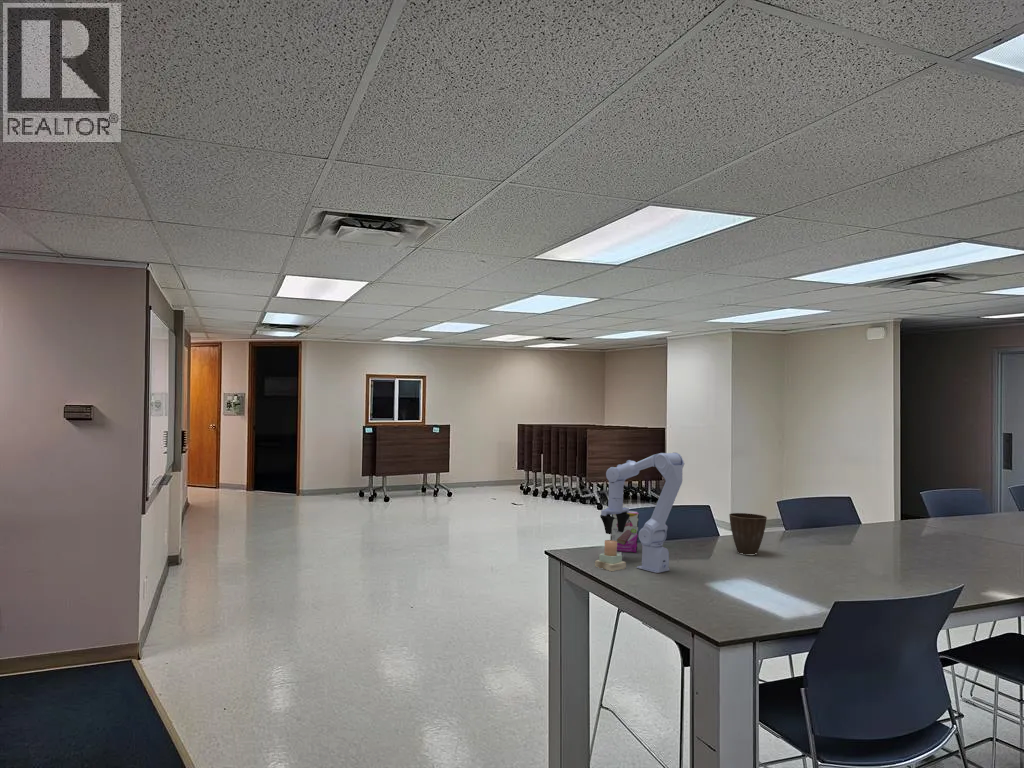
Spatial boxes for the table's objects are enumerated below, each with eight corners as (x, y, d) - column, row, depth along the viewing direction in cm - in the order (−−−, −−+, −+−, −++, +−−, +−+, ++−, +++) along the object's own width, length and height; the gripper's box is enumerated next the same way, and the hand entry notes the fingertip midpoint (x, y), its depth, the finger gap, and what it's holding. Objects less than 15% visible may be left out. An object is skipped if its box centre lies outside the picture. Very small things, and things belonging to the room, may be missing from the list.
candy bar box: (610, 551, 279) (611, 511, 280) (609, 549, 284) (611, 509, 285) (637, 553, 278) (639, 513, 279) (636, 550, 283) (637, 511, 284)
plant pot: (721, 552, 286) (722, 514, 286) (739, 548, 296) (740, 511, 296) (754, 559, 275) (755, 519, 275) (772, 554, 285) (773, 516, 285)
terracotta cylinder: (619, 555, 250) (619, 541, 250) (609, 556, 247) (610, 542, 247) (611, 552, 254) (611, 539, 254) (601, 553, 251) (602, 540, 251)
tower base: (625, 570, 250) (625, 562, 250) (611, 573, 245) (611, 564, 245) (608, 565, 256) (609, 557, 256) (594, 568, 251) (595, 560, 251)
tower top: (621, 561, 251) (622, 555, 251) (612, 564, 246) (612, 557, 246) (608, 558, 255) (608, 552, 255) (599, 561, 250) (599, 554, 251)
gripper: (619, 495, 273) (618, 529, 273) (595, 497, 264) (594, 532, 263) (633, 497, 268) (632, 532, 267) (609, 500, 258) (608, 535, 258)
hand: (614, 532), depth 265 cm, fingers open, 7 cm apart
